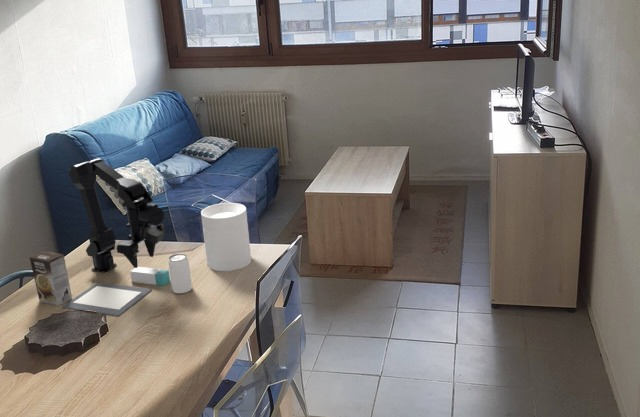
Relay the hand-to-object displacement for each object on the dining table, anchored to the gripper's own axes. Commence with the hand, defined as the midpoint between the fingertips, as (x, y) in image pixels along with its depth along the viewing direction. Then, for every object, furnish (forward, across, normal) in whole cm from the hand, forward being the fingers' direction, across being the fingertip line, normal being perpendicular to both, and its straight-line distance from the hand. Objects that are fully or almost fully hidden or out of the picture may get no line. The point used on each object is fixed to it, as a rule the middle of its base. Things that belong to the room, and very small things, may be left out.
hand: (144, 262), depth 219 cm
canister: (+7, +21, -21) cm, 31 cm away
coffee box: (+7, -20, +22) cm, 31 cm away
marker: (+7, 0, -2) cm, 7 cm away
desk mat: (+7, -15, +5) cm, 17 cm away
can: (+7, -3, -16) cm, 18 cm away
